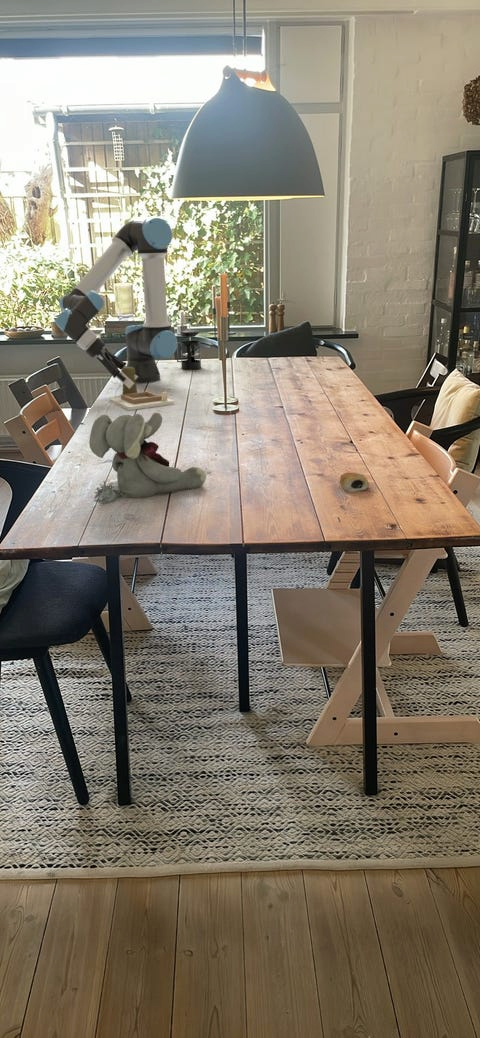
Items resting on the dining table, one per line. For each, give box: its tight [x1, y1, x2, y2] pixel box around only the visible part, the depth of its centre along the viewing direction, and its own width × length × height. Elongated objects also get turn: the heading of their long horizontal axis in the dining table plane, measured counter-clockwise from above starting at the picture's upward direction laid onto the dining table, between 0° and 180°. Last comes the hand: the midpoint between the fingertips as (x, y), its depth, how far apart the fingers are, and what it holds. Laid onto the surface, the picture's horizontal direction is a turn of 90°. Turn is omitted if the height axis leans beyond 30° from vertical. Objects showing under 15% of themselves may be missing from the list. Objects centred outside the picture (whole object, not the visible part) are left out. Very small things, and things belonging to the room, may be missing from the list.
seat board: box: [108, 390, 175, 411], centre depth 284 cm, size 18×18×4 cm
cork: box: [121, 367, 138, 394], centre depth 296 cm, size 6×6×11 cm
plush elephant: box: [89, 412, 207, 505], centre depth 186 cm, size 27×22×21 cm
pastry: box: [339, 472, 370, 493], centre depth 189 cm, size 9×7×4 cm
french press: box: [176, 316, 202, 371], centre depth 350 cm, size 12×9×23 cm
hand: (133, 382), depth 296 cm, fingers open, 13 cm apart
